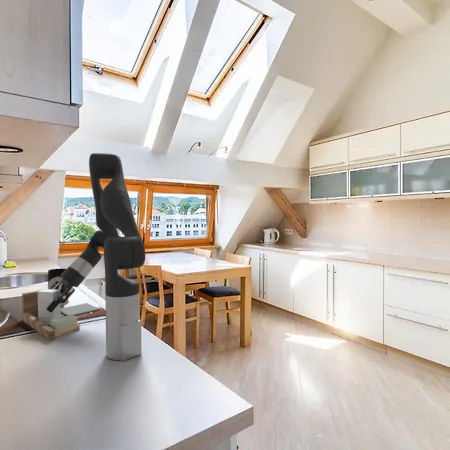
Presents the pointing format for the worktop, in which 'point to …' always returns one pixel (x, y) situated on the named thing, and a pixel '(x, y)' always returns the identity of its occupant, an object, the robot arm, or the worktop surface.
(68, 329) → the offcut bottom
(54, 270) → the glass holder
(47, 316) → the skincare box
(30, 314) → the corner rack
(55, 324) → the offcut top
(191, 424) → the worktop surface
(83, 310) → the rubber mat
